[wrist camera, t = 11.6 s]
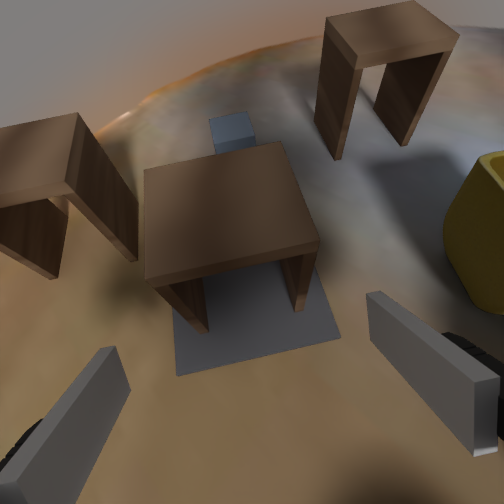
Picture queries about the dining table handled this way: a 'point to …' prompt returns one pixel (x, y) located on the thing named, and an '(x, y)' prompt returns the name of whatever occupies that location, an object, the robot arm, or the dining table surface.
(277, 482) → the dining table surface
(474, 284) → the flower pot
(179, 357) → the mat
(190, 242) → the cover middle
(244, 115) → the cube
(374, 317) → the robot arm
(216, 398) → the dining table surface
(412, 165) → the dining table surface
